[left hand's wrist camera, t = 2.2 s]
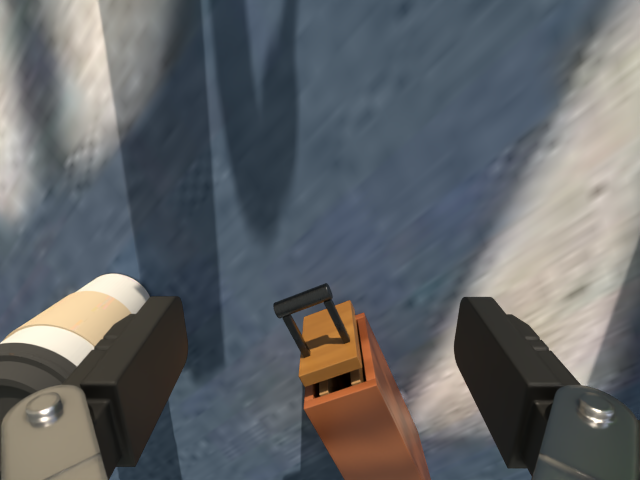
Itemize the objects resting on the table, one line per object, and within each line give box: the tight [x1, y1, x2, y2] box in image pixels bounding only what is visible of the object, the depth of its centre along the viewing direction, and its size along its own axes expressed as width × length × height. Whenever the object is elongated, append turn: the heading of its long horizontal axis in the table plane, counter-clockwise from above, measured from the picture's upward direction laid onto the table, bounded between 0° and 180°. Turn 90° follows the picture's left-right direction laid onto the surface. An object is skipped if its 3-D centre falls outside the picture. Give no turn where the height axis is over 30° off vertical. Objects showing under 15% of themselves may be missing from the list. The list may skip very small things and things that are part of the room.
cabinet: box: [304, 313, 431, 480], centre depth 38 cm, size 17×6×10 cm, turn 23°
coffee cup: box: [0, 274, 150, 420], centre depth 32 cm, size 9×9×15 cm
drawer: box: [274, 283, 366, 397], centre depth 36 cm, size 22×5×9 cm, turn 23°
